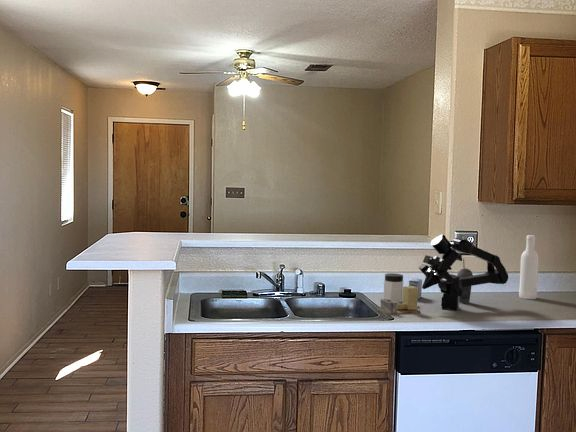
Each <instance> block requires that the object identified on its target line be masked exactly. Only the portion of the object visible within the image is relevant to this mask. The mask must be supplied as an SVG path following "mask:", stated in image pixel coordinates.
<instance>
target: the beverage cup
mask: <svg viewBox="0 0 576 432" xmlns="http://www.w3.org/2000/svg"><path fill="white" fill-rule="evenodd" d="M462 264H463V265H462V266H463V268H462V269H460V270H459V271H458V272H457V275H456V276H459V278H460V277H467V276H473V272H472V271H471V270H470V269H469V268H465V267H466V266H465V258H462ZM461 290H462V291H463V292H462V295H461V296H459V303H460V304H470V299H471V292H472V286H467V287H462V288H461Z"/></svg>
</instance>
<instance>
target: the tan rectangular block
mask: <svg viewBox="0 0 576 432" xmlns="http://www.w3.org/2000/svg"><path fill="white" fill-rule="evenodd" d="M417 295H418V288H416V287H413V286H409V285H405V286H404V285H403V301H402V302H401V303H398V304H397V310H398V309H407V310H414V309H417V310H418V300H417Z"/></svg>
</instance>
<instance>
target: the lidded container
mask: <svg viewBox="0 0 576 432" xmlns="http://www.w3.org/2000/svg"><path fill="white" fill-rule="evenodd" d="M383 282H384V283H383V300H384V299H390V300H391V302H397V303H398V304H400V303H403V287H404V275H403V274H401V273H391V272H390V273H385V274H384V281H383Z"/></svg>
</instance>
